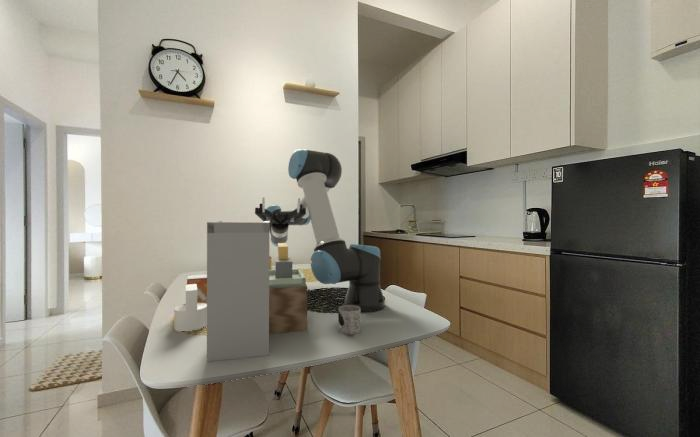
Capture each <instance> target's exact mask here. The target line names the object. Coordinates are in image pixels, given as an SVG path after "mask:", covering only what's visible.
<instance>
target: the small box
mask: <svg viewBox="0 0 700 437" xmlns="http://www.w3.org/2000/svg"><path fill="white" fill-rule="evenodd" d="M189 284H197V303H206V304H207V273H206V274H195V275H187V278H186V285H189Z"/></svg>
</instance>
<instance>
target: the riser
mask: <svg viewBox="0 0 700 437" xmlns="http://www.w3.org/2000/svg"><path fill="white" fill-rule="evenodd" d="M302 331H308V285H307V284H306V286H304V287H285V288H269V335H270V334H279V333H280V334H281V333H291V332H302Z"/></svg>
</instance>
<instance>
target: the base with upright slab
mask: <svg viewBox="0 0 700 437" xmlns="http://www.w3.org/2000/svg"><path fill="white" fill-rule="evenodd" d="M173 312H174V316H173V317H174V318H173V320H174V322H173V325H174V328H173V330H174V331H175V332H179V333H181V331H190V332H193V331H192V330H196V331H198V330H197V329H199V330H202V329H204V328H206V327H207V304H206V303H197V284H189V285H187V284H185V303H184V304H180V305H177V306H175V308H174V311H173ZM205 326H206V327H205ZM203 327H204V328H203ZM201 328H202V329H201Z"/></svg>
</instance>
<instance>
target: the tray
mask: <svg viewBox="0 0 700 437" xmlns="http://www.w3.org/2000/svg"><path fill="white" fill-rule="evenodd" d="M306 282H307V281H306V276H305V274H304V273H303V271H302V269H301V268H292V278H280V279H275V269H269V288H285V287H304V286H306V285H307V283H306Z"/></svg>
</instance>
